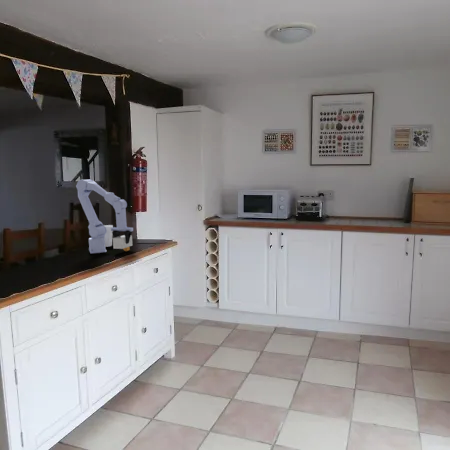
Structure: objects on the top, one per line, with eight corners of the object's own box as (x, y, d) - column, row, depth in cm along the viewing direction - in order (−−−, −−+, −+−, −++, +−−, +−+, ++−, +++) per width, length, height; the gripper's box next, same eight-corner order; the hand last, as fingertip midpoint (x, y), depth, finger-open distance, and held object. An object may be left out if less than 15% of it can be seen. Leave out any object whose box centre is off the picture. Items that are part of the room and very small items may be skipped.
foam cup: (111, 246, 267) (110, 226, 266) (97, 247, 268) (95, 227, 266) (115, 244, 277) (114, 225, 275) (102, 244, 277) (100, 225, 275)
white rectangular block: (124, 245, 252) (123, 235, 252) (132, 245, 250) (131, 235, 250) (113, 248, 243) (112, 238, 242) (121, 248, 240) (121, 238, 240)
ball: (125, 242, 249) (128, 244, 252) (120, 247, 249) (124, 248, 253) (128, 247, 247) (132, 248, 250) (123, 251, 247) (127, 253, 251)
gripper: (135, 219, 246) (137, 242, 247) (115, 219, 251) (116, 241, 253) (128, 221, 239) (130, 244, 241) (107, 220, 244) (109, 243, 246)
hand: (122, 243), depth 246 cm, fingers closed on white rectangular block, 6 cm apart
